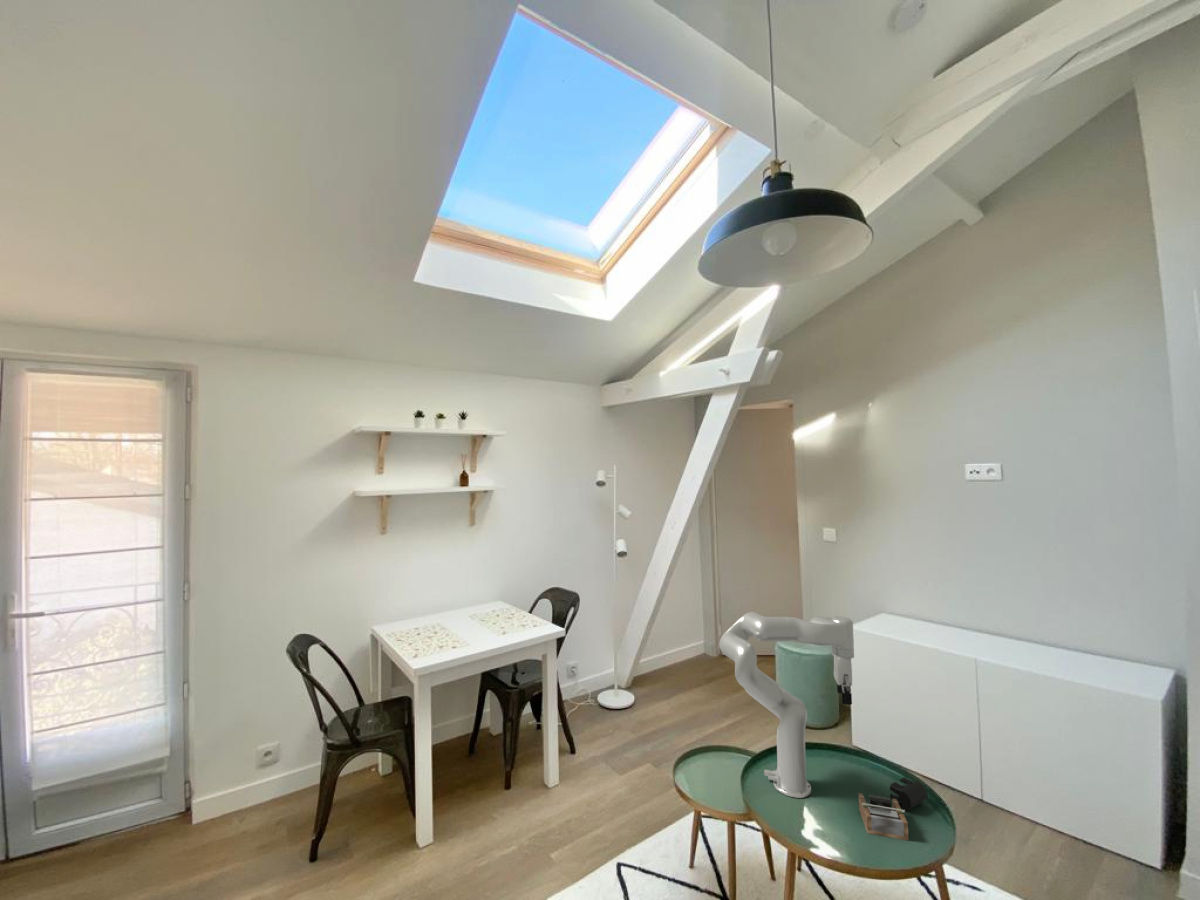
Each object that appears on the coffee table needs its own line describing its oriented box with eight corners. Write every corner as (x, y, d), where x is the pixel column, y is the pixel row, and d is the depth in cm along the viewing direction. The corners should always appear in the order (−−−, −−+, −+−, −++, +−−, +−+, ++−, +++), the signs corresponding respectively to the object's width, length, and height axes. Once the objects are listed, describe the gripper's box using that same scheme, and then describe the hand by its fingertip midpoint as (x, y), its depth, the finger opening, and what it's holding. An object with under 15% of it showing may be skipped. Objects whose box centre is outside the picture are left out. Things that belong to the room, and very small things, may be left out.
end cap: (911, 816, 160) (910, 794, 160) (889, 803, 166) (888, 783, 167) (928, 806, 165) (927, 785, 165) (906, 794, 171) (905, 774, 172)
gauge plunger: (863, 821, 155) (863, 804, 156) (859, 809, 161) (858, 793, 161) (906, 829, 152) (906, 811, 152) (900, 816, 158) (900, 799, 158)
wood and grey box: (867, 833, 152) (866, 815, 152) (859, 808, 164) (858, 792, 164) (908, 840, 149) (907, 822, 149) (896, 815, 160) (896, 798, 161)
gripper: (828, 643, 193) (829, 688, 192) (835, 658, 177) (837, 707, 176) (849, 645, 191) (850, 690, 190) (858, 660, 175) (860, 710, 174)
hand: (844, 698), depth 183 cm, fingers open, 9 cm apart
